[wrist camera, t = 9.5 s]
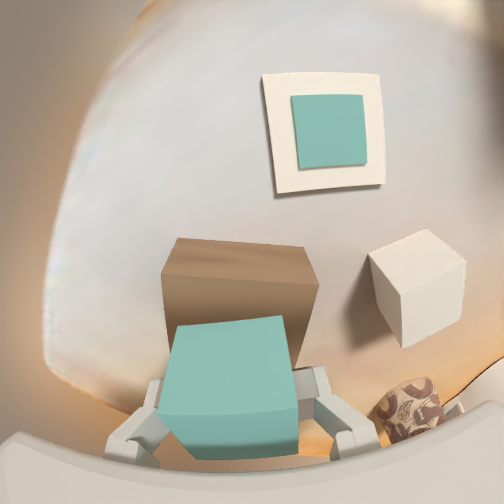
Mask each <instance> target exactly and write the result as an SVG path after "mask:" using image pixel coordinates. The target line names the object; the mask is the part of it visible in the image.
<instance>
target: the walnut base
mask: <svg viewBox="0 0 504 504" xmlns="http://www.w3.org/2000/svg"><path fill="white" fill-rule="evenodd" d="M161 281H162V292H163V302H164V311H165V319H166V327H167V334H168V341H169V348H170V354H171V350H172V346H173V342H174V338H175V334H176V330H177V326H185V325H197V324H209V323H219V322H229V321H238V320H247V319H256V318H264V317H271V316H279V315H282V317H283V323H284V328H285V334H286V339H287V345H288V350H289V356H290V362H291V367H292V369H294V368H295V365H296V362H297V359H298V356H299V353H300V350H301V346H302V343H303V340H304V337H305V333H306V330H307V327H308V323H309V320H310V316H311V313H312V309H313V306H314V302H315V298H316V295H317V291H318V287H319V283H318V280H317V278H316V275H315V273H314V271H313V268H312V266H311V264H310V261H309V259H308V257H307V254H306V252H305V250H304V247H296V246H283V245H270V244H257V243H243V242H229V241H215V240H201V239H186V238H178V239H177V241H176V243H175V245H174V247H173V249H172V251H171V253H170V255H169V257H168V260H167V262H166V264H165V266H164V268H163V270H162V272H161Z"/></svg>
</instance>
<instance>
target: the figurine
mask: <svg viewBox="0 0 504 504" xmlns="http://www.w3.org/2000/svg"><path fill="white" fill-rule="evenodd" d="M376 408H377V413H378V415H379V417H380V420H381V422H382V424H383V426H384V428H385V430H386V433H387V435H388V437H389V439H390V442H391V444H395V443H397V442H400V441H403V440H406V439H408V438H411V437H413V436H416V435H418V434H421V433H423V432H425V431H428V430H430V429H432V428H434V427H437V426H439V425H441V424H443V423H445V422H446V419H445V415H444V413H443V411H442V407H441V404H440V401H439V398H438V394H437V391H436V388H435V386H434V385H433V383H432V381H431V380H430V379H429V378H428V377H420V378H416V379H413V380H410V381H405V382H403V383H401V384H399V385H398V386H397V387H395V388H393V389H392V390H390V391H389V392H387V394H386V395H385V396H384V397H383V398H382V399H381V400H380V402H379V403H378V404H377V406H376Z"/></svg>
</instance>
